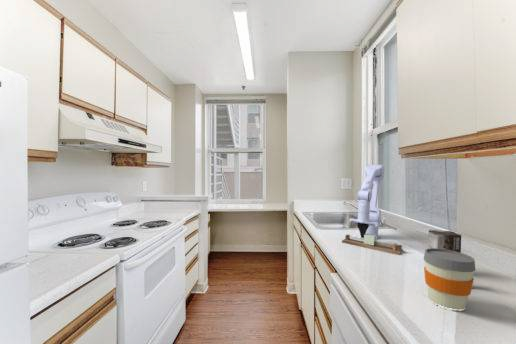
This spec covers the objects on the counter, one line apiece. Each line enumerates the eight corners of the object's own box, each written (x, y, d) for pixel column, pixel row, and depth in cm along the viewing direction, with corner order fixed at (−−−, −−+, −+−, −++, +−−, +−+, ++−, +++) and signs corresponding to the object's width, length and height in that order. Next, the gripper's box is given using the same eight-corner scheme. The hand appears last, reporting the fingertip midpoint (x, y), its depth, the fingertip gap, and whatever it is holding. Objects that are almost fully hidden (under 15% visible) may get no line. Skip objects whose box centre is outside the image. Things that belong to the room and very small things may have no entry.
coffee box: (449, 269, 103) (451, 230, 103) (460, 275, 97) (462, 235, 97) (426, 267, 104) (428, 229, 104) (435, 274, 98) (437, 233, 98)
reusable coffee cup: (420, 289, 85) (422, 245, 84) (467, 300, 78) (470, 253, 78) (423, 306, 74) (425, 256, 74) (478, 320, 67) (481, 266, 67)
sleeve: (365, 241, 135) (366, 233, 135) (375, 243, 132) (376, 235, 131) (363, 243, 131) (364, 234, 131) (373, 245, 128) (374, 236, 128)
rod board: (347, 239, 143) (347, 232, 143) (402, 250, 126) (403, 243, 126) (341, 242, 136) (342, 235, 136) (399, 255, 119) (399, 247, 119)
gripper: (347, 211, 135) (346, 236, 135) (376, 215, 126) (375, 241, 126) (352, 209, 140) (351, 233, 141) (379, 213, 131) (378, 239, 132)
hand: (362, 237), depth 134 cm, fingers closed
